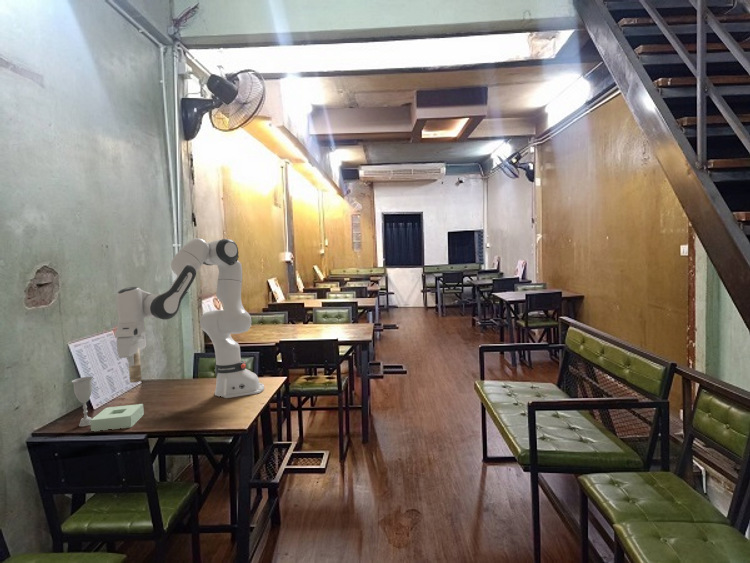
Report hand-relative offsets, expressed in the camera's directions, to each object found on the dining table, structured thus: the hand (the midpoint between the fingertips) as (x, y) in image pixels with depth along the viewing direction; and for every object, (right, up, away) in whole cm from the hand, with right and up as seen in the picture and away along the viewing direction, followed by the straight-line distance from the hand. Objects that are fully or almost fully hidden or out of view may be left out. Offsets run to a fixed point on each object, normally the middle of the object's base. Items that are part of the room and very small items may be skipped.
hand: (134, 364), depth 167 cm
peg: (0, -7, 0) cm, 7 cm away
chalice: (-21, -25, +4) cm, 33 cm away
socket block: (-8, -24, +3) cm, 25 cm away
